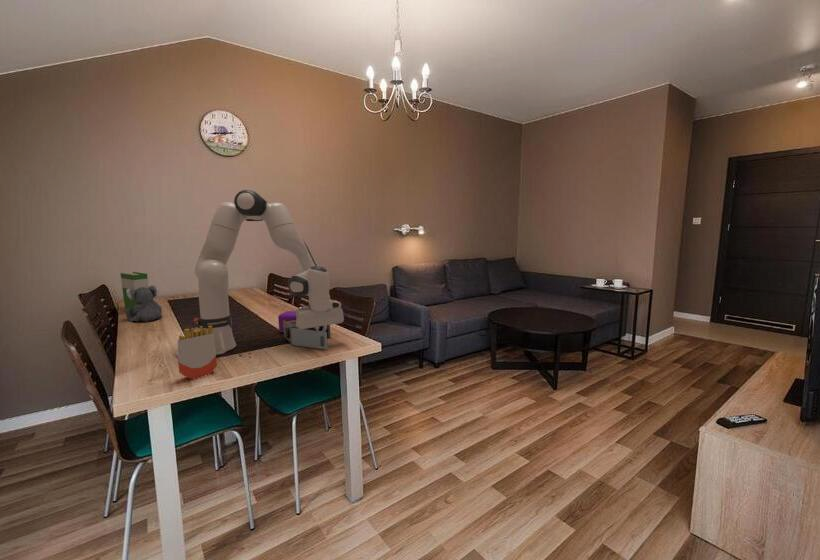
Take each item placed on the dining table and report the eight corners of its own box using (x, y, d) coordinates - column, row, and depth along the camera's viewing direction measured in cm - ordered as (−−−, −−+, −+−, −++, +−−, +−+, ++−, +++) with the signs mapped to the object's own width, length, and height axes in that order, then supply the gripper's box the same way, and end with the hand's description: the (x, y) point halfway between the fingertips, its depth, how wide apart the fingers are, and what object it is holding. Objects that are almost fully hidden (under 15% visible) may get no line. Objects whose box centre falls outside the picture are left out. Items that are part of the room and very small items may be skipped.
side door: (288, 345, 161) (287, 329, 160) (292, 344, 163) (291, 327, 162) (324, 350, 155) (323, 333, 153) (327, 349, 157) (326, 331, 156)
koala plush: (161, 314, 222) (157, 282, 219) (168, 319, 210) (165, 285, 207) (125, 319, 210) (121, 286, 207) (131, 325, 198) (126, 289, 195)
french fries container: (179, 378, 128) (174, 328, 125) (212, 369, 136) (207, 322, 134) (184, 382, 125) (179, 331, 122) (217, 372, 133) (213, 324, 131)
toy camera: (305, 334, 179) (303, 314, 177) (277, 334, 179) (275, 314, 178) (311, 328, 189) (310, 309, 188) (285, 328, 190) (283, 309, 188)
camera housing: (289, 345, 163) (288, 326, 162) (282, 338, 172) (281, 320, 171) (330, 337, 173) (329, 319, 172) (322, 331, 182) (321, 315, 181)
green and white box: (125, 311, 231) (120, 273, 227) (138, 308, 237) (134, 271, 233) (137, 314, 221) (132, 275, 218) (151, 312, 228) (147, 273, 224)
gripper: (297, 309, 149) (299, 341, 151) (344, 303, 160) (345, 333, 162) (293, 306, 154) (294, 337, 156) (339, 300, 165) (340, 330, 167)
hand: (321, 335), depth 159 cm, fingers closed
